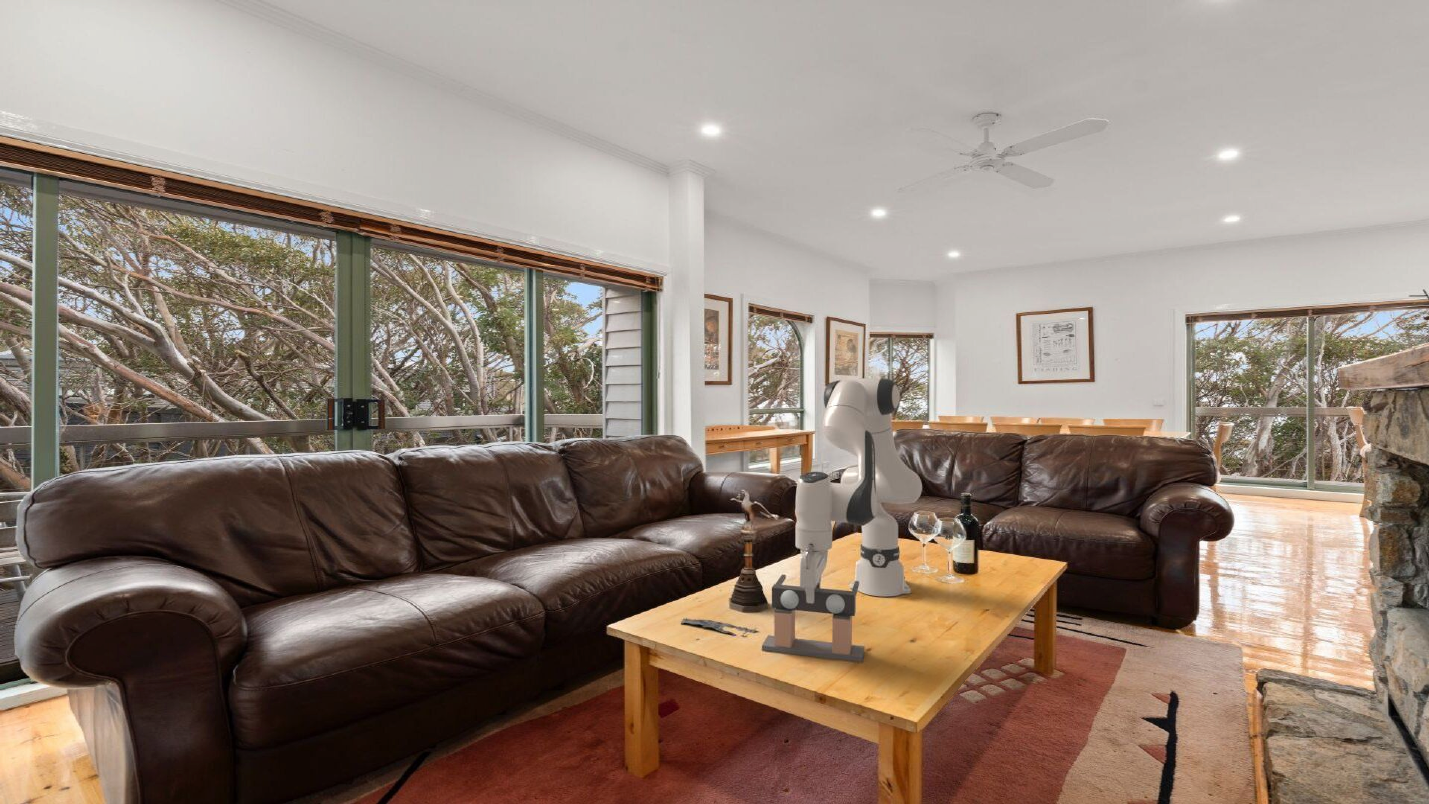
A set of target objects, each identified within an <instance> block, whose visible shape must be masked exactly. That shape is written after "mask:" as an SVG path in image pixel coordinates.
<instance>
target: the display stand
mask: <svg viewBox="0 0 1429 804" xmlns="http://www.w3.org/2000/svg"><path fill="white" fill-rule="evenodd" d="M773 614H774V615H773V616H774V617H773V618H774V619H773V620H774V622H773V623H774V626H773V627H774V629H773V630H774V633H773V635H770V634H768V635H767V637H766V638H765V640H764V641H763V643H762V644H761V651H764V652H770V653H771V652H773V653H780V654H781V653H782V654H788V655H797V656H806V657H813V658H814V657H815V658H822V659H830V660H837V661H844V662H845V661H848V662H855V663H863V661H864V657H865V650H866V649H865V648H866V647H865V645H857V644H853V616H848V615H838V614H832V629H831V630H832V634H831V635H832V639H831V640H832V642H831V641H824V640H823V641H822V640H813V639H805V638H804V639H803V638H797V637H796V610H788V609H778V608H774V613H773Z"/></svg>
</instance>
